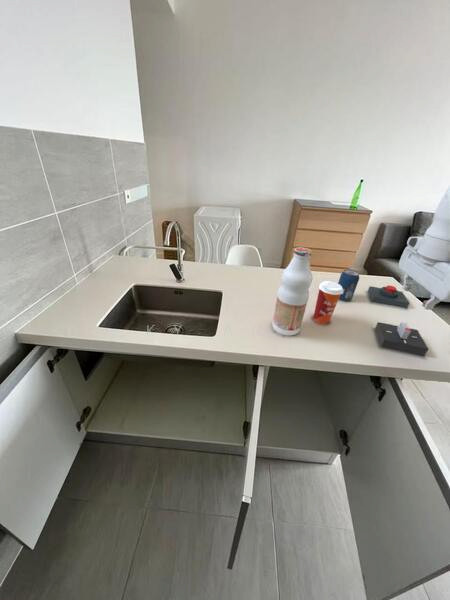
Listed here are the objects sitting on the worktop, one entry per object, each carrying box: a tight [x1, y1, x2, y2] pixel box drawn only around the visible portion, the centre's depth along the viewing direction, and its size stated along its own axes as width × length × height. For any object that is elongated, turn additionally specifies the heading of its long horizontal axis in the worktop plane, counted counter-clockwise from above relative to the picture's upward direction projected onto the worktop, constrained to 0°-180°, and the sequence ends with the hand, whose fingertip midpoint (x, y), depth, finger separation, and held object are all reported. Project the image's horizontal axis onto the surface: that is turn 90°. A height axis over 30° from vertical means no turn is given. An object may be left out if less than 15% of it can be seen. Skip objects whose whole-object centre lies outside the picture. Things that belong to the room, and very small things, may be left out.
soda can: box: [337, 268, 360, 302], centre depth 100 cm, size 7×7×12 cm
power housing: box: [367, 285, 410, 309], centre depth 103 cm, size 13×10×4 cm
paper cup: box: [313, 280, 343, 325], centre depth 85 cm, size 8×8×14 cm
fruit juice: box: [271, 246, 314, 336], centre depth 76 cm, size 9×9×28 cm
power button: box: [385, 285, 397, 293], centre depth 101 cm, size 4×4×2 cm
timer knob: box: [397, 321, 411, 339], centre depth 77 cm, size 4×2×3 cm, turn 162°
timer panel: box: [374, 321, 429, 357], centre depth 79 cm, size 12×10×3 cm
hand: (415, 298), depth 65 cm, fingers open, 8 cm apart
